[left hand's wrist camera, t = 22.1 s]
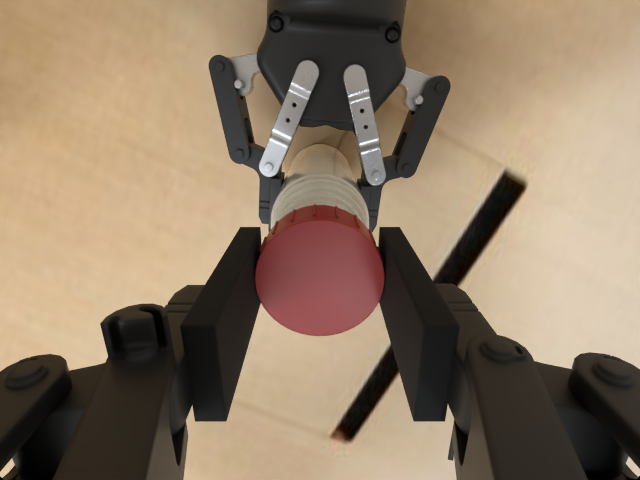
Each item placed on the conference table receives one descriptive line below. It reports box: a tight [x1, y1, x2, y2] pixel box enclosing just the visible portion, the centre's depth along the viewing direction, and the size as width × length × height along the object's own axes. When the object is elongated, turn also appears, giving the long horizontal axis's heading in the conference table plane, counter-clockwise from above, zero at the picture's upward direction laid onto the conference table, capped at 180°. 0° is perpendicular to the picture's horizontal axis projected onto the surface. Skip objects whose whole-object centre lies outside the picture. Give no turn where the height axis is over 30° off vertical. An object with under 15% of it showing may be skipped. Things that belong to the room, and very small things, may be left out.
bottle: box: [271, 144, 369, 229], centre depth 22 cm, size 5×5×18 cm
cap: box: [255, 204, 385, 336], centre depth 14 cm, size 4×5×2 cm
